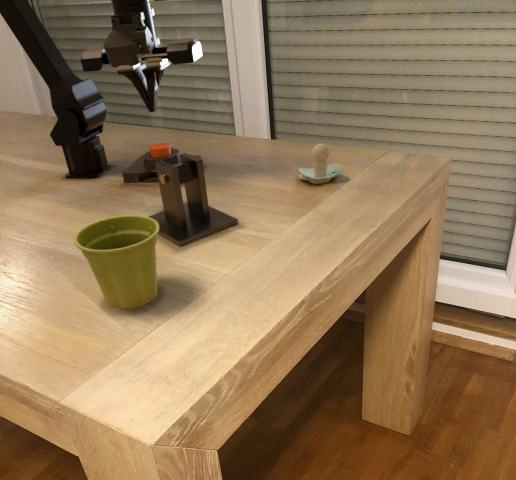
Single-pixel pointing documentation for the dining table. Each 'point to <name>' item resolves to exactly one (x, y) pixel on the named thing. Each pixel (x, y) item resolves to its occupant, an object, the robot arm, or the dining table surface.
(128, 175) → the block
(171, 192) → the dark brown stand
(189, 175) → the dark t-shaped lever
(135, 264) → the plant pot
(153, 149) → the button
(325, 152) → the pacifier
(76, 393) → the dining table surface
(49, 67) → the robot arm
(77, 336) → the dining table surface
